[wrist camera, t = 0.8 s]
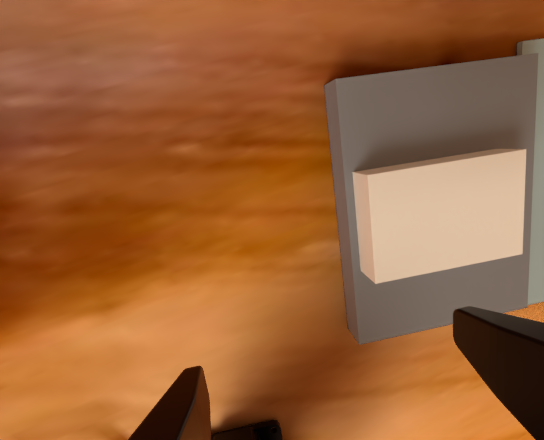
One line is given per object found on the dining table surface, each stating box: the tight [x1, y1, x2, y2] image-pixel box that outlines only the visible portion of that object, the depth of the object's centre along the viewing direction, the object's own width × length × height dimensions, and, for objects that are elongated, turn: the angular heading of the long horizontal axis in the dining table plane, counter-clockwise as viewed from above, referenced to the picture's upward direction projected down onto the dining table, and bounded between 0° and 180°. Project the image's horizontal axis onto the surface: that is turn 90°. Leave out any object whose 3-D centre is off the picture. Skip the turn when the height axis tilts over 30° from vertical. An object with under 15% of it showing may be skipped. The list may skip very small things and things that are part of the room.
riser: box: [324, 53, 538, 345], centre depth 21 cm, size 16×12×2 cm
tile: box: [352, 149, 526, 284], centre depth 19 cm, size 9×6×2 cm, turn 98°
